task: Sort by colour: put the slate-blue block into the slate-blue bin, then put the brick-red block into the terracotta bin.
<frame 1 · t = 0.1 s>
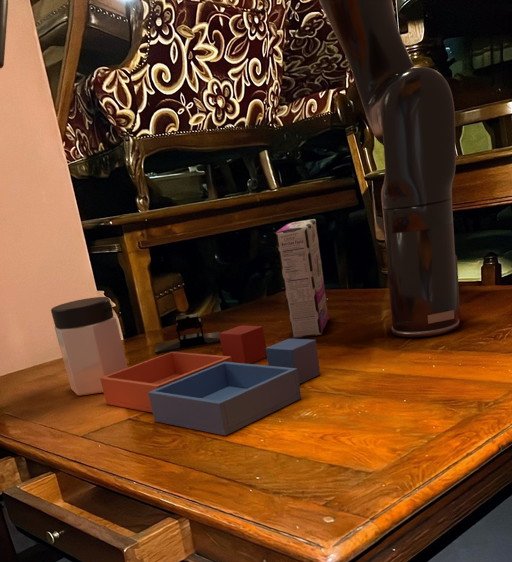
jar: (101, 387, 100), on the table
blue bin: (227, 410, 80), on the table
terracotta bin: (171, 393, 90), on the table
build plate: (192, 344, 117), on the table
red block: (246, 360, 100), on the table
blue block: (295, 378, 87), on the table
candy bar box: (310, 330, 112), on the table
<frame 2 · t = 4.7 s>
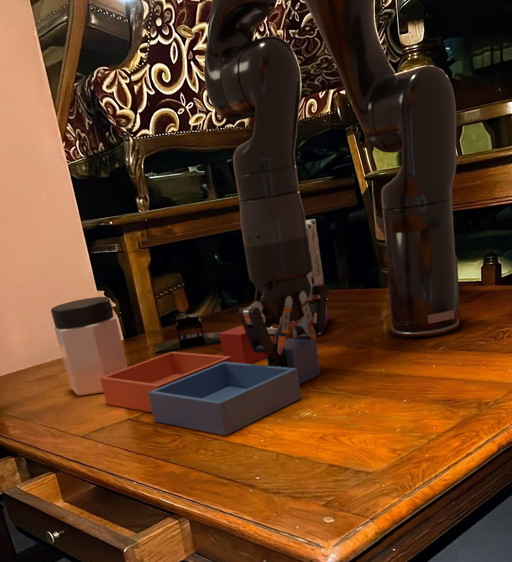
hand: (295, 375, 87), 0 cm above the table, tool pointing down, fingers closed on blue block, 4 cm apart
blue block: (295, 378, 87), on the table, touching gripper
everything else where it was.
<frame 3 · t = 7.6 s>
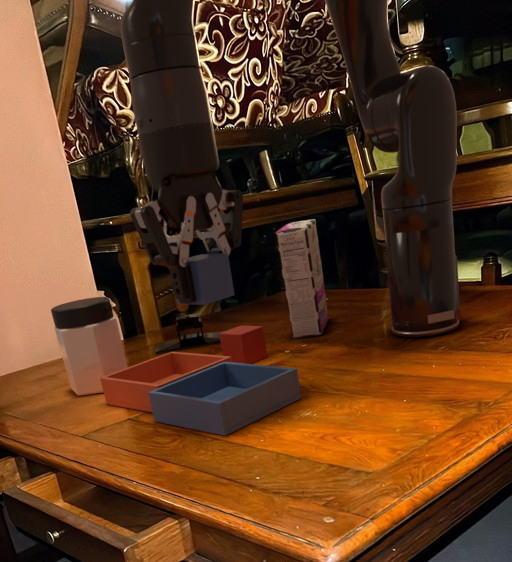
hand: (205, 296, 75), 13 cm above the table, tool pointing down, fingers closed on blue block, 4 cm apart
blue block: (206, 299, 75), point 13 cm above the table, touching gripper
everything else where it was.
when the fingers open (2 cm above the table, at t = 10.5 s): blue block stays where it is, resting on blue bin.
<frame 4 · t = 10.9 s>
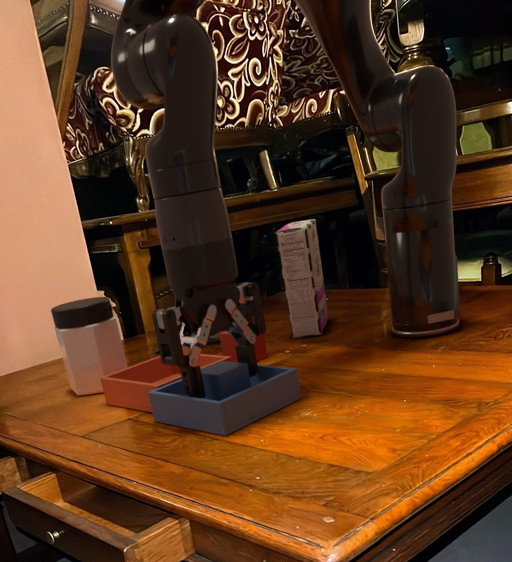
hand: (224, 386, 79), 3 cm above the table, tool pointing down, fingers open, 7 cm apart
blue block: (226, 405, 80), point 1 cm above the table, touching blue bin
everything else where it was.
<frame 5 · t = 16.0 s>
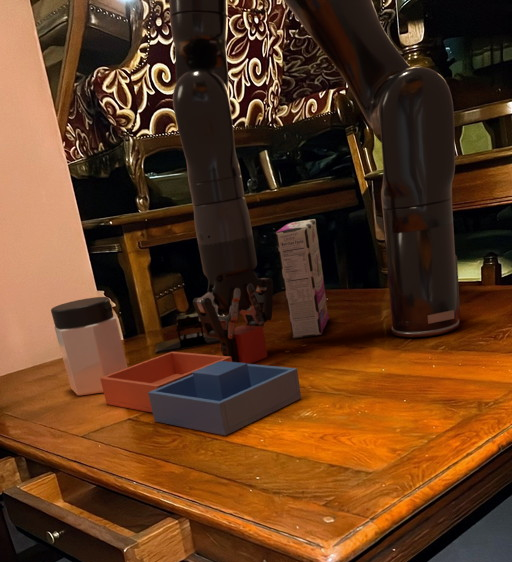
hand: (245, 358, 100), 0 cm above the table, tool pointing down, fingers closed on red block, 4 cm apart
red block: (246, 360, 100), on the table, touching gripper
everything else where it was.
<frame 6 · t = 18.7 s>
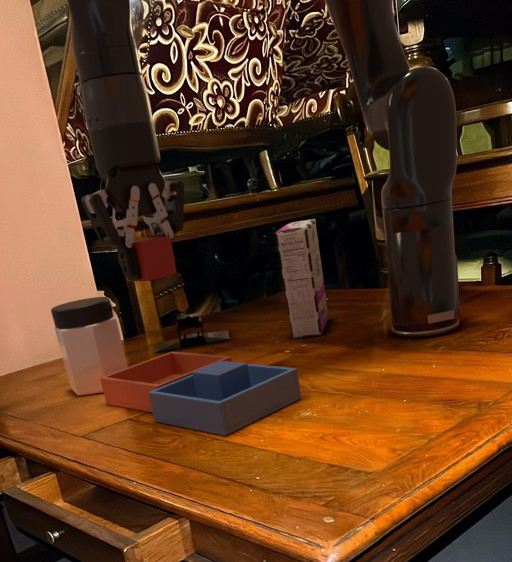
hand: (151, 274, 86), 15 cm above the table, tool pointing down, fingers closed on red block, 4 cm apart
red block: (151, 277, 86), point 15 cm above the table, touching gripper
everything else where it was.
when the fingers open (2 cm above the table, at t = 22.0 s): red block stays where it is, resting on terracotta bin.
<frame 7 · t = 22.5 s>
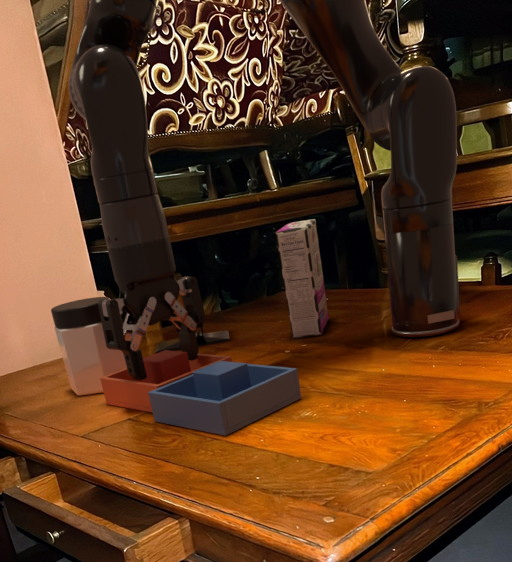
hand: (166, 369, 89), 3 cm above the table, tool pointing down, fingers open, 8 cm apart
red block: (169, 389, 90), point 1 cm above the table, touching terracotta bin
everything else where it was.
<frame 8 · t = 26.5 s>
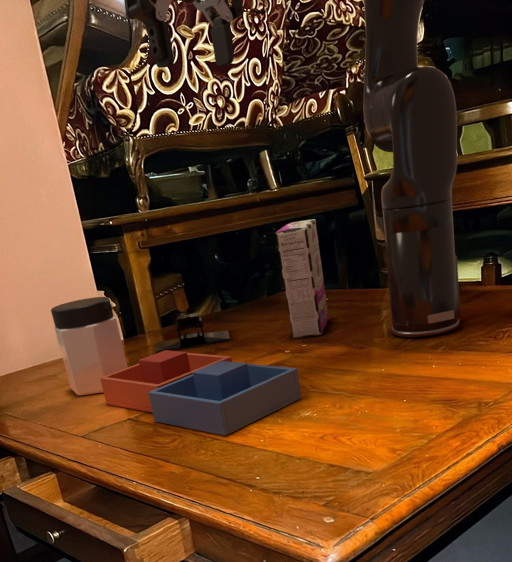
hand: (196, 65, 74), 36 cm above the table, tool pointing down, fingers open, 8 cm apart
nothing on the table moved.
at the end: blue block inside the target area in the blue bin (0.0 cm from its centre), point 0.6 cm above the blue bin's base; red block inside the target area in the terracotta bin (0.0 cm from its centre), point 0.6 cm above the terracotta bin's base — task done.
